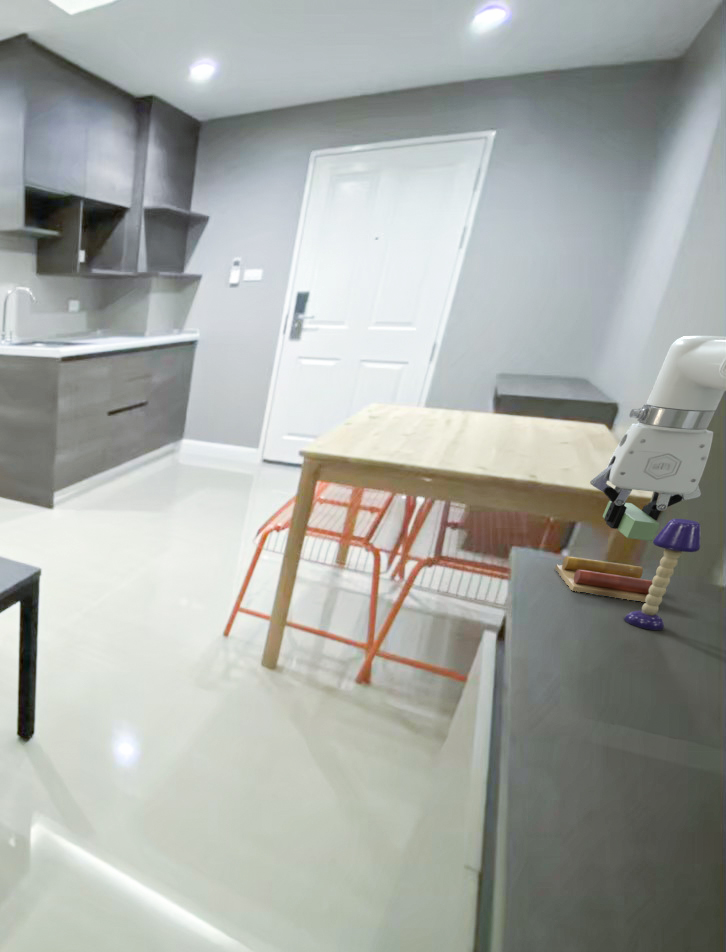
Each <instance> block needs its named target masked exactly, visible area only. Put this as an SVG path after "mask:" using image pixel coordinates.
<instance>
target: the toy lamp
mask: <svg viewBox="0 0 726 952" xmlns="http://www.w3.org/2000/svg"><path fill="white" fill-rule="evenodd" d="M652 544H653V545H654V546H656V547H659V548H662V549H664V550H663V556H662V557H661V559H660V560H659V566H658V567H657V568H656V572H655V574H656V575H654V576H653V577H652V579H651V580H652V585H651V586H650V588H649V594H648V595H647V596H646V598H645V602H646V603H643V604H642V606H641V610H634V611H631V612H629V613H628V614H626V615H625V617H624V621H625V622H626V623H627V624H630V625H631V626H634V627H638V628H640V629H645V630H650V631H661V630H664V627H665V624H664V620H663V619H662V618H661V616H659V615H658V612H659V609H660V608H659V606H660V605H662V604H661V603H662V602H663V596H664V595H665V594H666V593H667V587H668V586H669V584H670V583H671V577H672V576H673V575H674V572H675V570H674V569H675V567H676V566H677V565H678V562H679V559H678V558H681V556H682V553H684V552H685V553H696V552H698V551H700V548H701V524H700V523H699V522H698V521H696V520H692V519H685V518H672V519H670V520H669V521H668V522H667V523H666V525H664V527H663V528H662V529H661V530H660V531H659V532H658V534H657V535H655V537H654V538H653V540H652Z"/></svg>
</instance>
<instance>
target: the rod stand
mask: <svg viewBox="0 0 726 952" xmlns="http://www.w3.org/2000/svg"><path fill="white" fill-rule="evenodd" d="M643 568H644V567H642V566H639V565H632V564H625V563H619V562H618V563H617V562H610V561H604V560H597V559H590V558H585V557H584V558H583V557H576V556H569V555H567V556H564V558H563V560H562V564H555V566H554V570H555V569H556V570H557V571H558V573H559V574H558V573H557V574H558V576H559V577H560V576H561V577H560V578H561V579H562V581H563V580H564V581H565V582H564V581H563V582H564V583H565V584H566V586H567V585H568V586H569V587H568V586H567V587H568V589H569V590H570V591H571V590H572V591H571V592H573V591H575V592H576V591H577V592H576V593H580V592H586V593H593V594H598V595H605V596H611V597H615V598H614V599H616V597H617V598H622V599H621V600H623V599H627V600H626V601H629V600H637V601H641V602H645V598H646V596H647V595H648V594H649V588H650V586H651V585H652V580H653V579H644V578H642V576H643V572H644V569H643ZM630 569H633V570H630ZM556 570H555V571H556ZM575 592H574V593H575ZM586 593H585V594H586ZM598 595H597V596H598ZM641 602H640V603H641Z"/></svg>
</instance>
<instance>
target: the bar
mask: <svg viewBox="0 0 726 952" xmlns="http://www.w3.org/2000/svg"><path fill="white" fill-rule="evenodd" d="M610 504H611V501H610V500H609V501H608V502H607V505H606V507H605V509H604V512H603V514H602V518H603V519H605V516H606V513H607V511H608V509H609V506H610ZM624 506H626V507H627V509H626V511H625V513H624V515H623V517H622V520H621V522H620V524H619V526H618V528H616V529H615V530H617V531H618V532H620V533H621V534H622V535H623V536H624V537H626V539H633V540H641V541H646V542H653V541H654V539H655V537H656V534H657V531H658V529H659V527H660V525H661V523H660V522H658V520H654V519H653V518H651V517H650V516H649V515H647V514H646V513H644V512H643V511H642V509H640V508H639V507H637V506H636V505H635V504H633V503H631V502H626V503H625V505H624Z"/></svg>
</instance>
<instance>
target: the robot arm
mask: <svg viewBox="0 0 726 952" xmlns="http://www.w3.org/2000/svg"><path fill="white" fill-rule="evenodd" d="M725 392H726V336H722V335H721V336H720V335H685V336H682V337H679V338H677V339H675V340H674V341H673V343H671V344H670V347H669V349H668V351H667V354H666V356H665V358H664V361H663V363H662V365H661V368H660V370H659V372H658V375H657V377H656V379H655V381H654V384H653V387H652V389H651V391H650V393H649V395H648V398H647V401H646V404H643V406H642V407H641V408H632V409H631V410H630V412H629V415H628V417H629V418H634V419H637V421H638V422H637V423H632V424H630V426H629V428H628V429H627V431H626V432H625V434H624V435H623V436H622V438H621V440H620V441H619V443H618V444H617V446H616V448H615V450H614V451H613V453H612V455H611V457H610V459H609V461H608V462H607V465H606V468H605V469H604V470H602V471H601V472H600V473H599V474H598V475H596V476H595V477H594V478H592V479H591V480H590V482H589V484H590V485H591V486H592V487H594V488H596V489H597V490H599V491H600V492H603V494H604V495H605V496H606V497H607V499H609V501H611V504H610V506H609V509H608V511H607V513H606V516H605V518H604V521H605V524H606V525H607V526H608V527H609V528H611V529H614V530H617V529H616V528H618V526H619V524H620V522H621V520H622V517H623V515H624V513H625V511H626V509H627V507H626V506H624V505H625V503H627V502H626V501H627V500H628V498H629V496H630V495H631V493H632V491H633V490H635V491H644V492H652V494H651V498H650V501H649V502H648V504H645V505H644V506H643V507H642V509H641V510H642V511H643V512H644V513H646V514H647V515H649V516H650V517H651V518H653V519H654V520H656V521H658V518H659V516H660V515H661V512H662V511H665V510H667V508H669V507H671V506H673V505H675V504H677V503H680V502H682V501H688V500H691V499H697V498H699V497H701V495H702V491H701V488H700V485H699V483H700V481H701V478H702V477H703V474H704V471H705V468H706V465H707V462H708V458H709V456H710V451H711V447H712V443H713V439H714V431H712V430H709V429H708V428H709V425H710V423H711V422H712V419H713V417H714V415H715V412H716V410H717V408H718V406H719V404H720V402H721V400H722V398H723V396H724V393H725ZM607 482H609V483H611V484H612V485H613V486H614V487H613V486H611V485H609V484H607Z"/></svg>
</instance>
